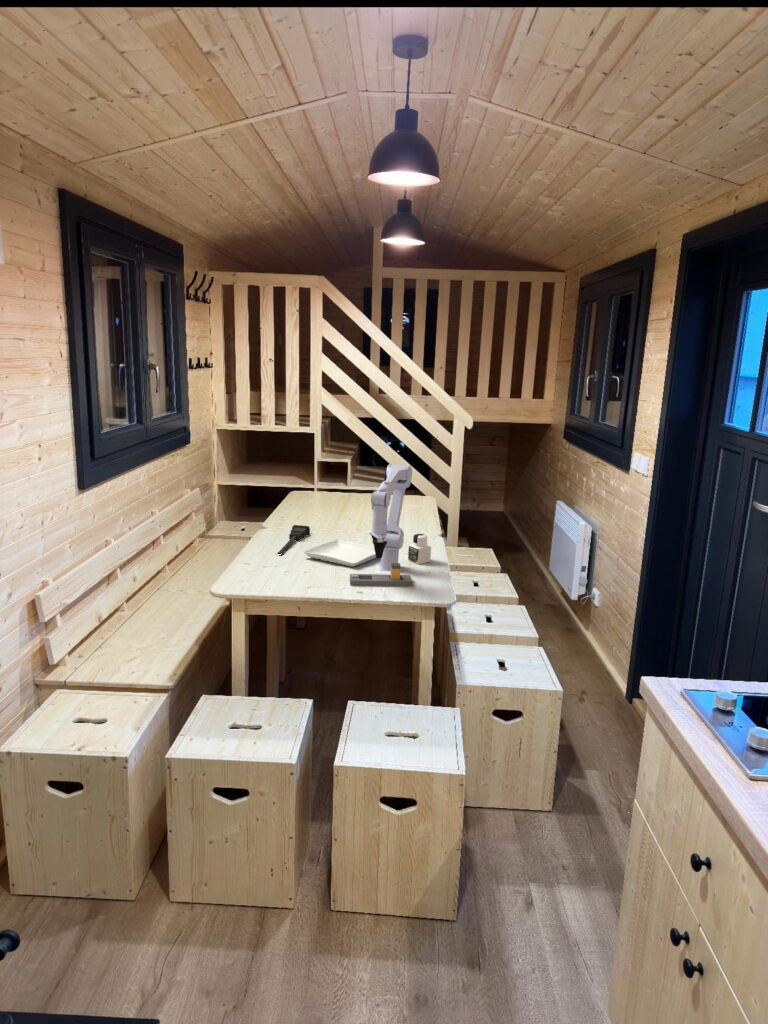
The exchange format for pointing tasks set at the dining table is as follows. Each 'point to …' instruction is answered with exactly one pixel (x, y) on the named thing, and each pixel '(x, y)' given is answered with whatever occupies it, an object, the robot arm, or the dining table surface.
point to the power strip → (379, 580)
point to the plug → (395, 571)
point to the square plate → (343, 552)
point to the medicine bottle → (419, 550)
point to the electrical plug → (296, 535)
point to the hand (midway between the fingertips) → (378, 555)
